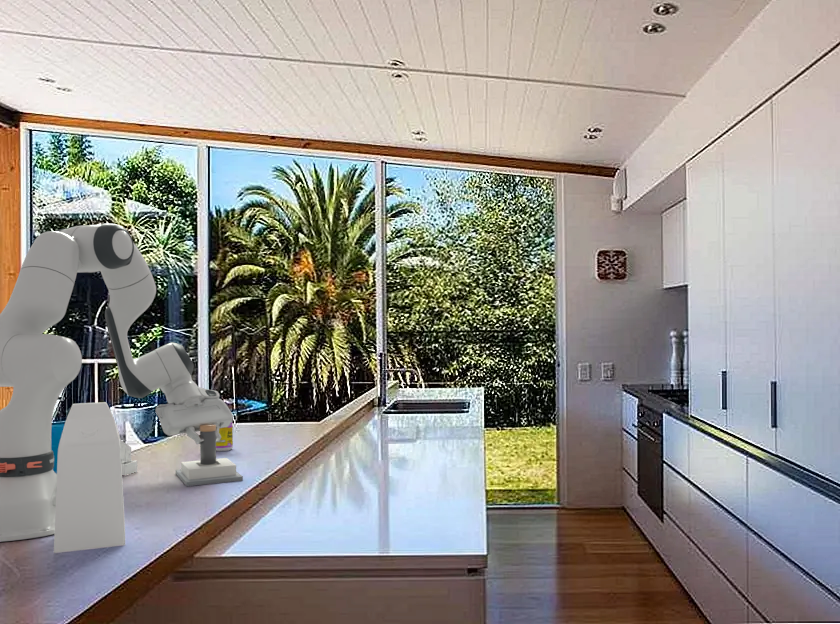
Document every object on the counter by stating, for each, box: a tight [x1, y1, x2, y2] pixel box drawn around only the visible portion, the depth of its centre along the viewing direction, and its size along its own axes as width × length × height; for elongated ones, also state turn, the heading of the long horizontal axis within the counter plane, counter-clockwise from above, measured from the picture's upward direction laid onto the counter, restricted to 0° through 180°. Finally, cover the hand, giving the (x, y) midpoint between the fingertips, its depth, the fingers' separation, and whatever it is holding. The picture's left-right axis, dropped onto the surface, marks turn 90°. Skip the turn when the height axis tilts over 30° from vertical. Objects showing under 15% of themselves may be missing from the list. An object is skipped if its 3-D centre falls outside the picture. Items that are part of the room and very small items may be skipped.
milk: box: [53, 401, 126, 554], centre depth 146 cm, size 12×12×26 cm
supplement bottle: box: [216, 421, 234, 452], centre depth 246 cm, size 7×7×13 cm
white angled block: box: [120, 439, 139, 475], centre depth 209 cm, size 4×10×9 cm, turn 168°
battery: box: [199, 424, 217, 465], centre depth 204 cm, size 4×4×10 cm
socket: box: [175, 457, 244, 487], centre depth 204 cm, size 18×14×4 cm
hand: (209, 441), depth 203 cm, fingers closed on battery, 4 cm apart
